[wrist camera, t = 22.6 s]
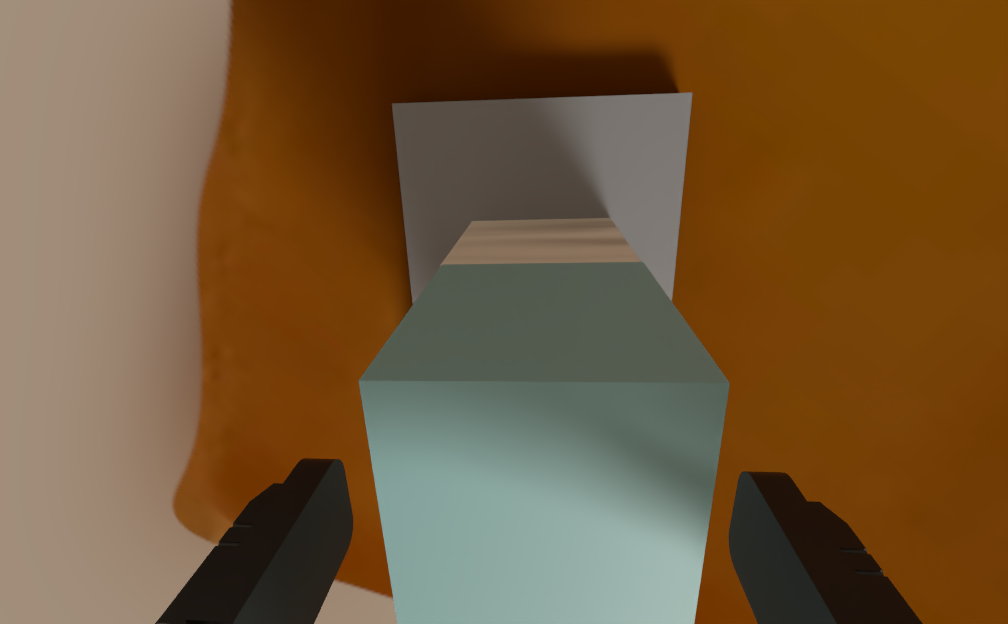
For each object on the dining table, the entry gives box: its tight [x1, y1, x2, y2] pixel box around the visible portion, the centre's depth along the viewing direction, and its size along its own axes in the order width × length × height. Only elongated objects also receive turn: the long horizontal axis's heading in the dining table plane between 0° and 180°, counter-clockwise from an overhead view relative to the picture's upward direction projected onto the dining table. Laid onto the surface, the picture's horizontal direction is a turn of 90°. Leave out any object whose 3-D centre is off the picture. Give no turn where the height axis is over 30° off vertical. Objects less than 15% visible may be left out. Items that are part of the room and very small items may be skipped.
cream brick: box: [440, 218, 641, 266], centre depth 16 cm, size 8×5×6 cm, turn 2°
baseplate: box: [392, 93, 692, 304], centre depth 20 cm, size 16×10×2 cm, turn 2°
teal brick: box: [359, 262, 730, 624], centre depth 11 cm, size 8×5×6 cm, turn 2°
